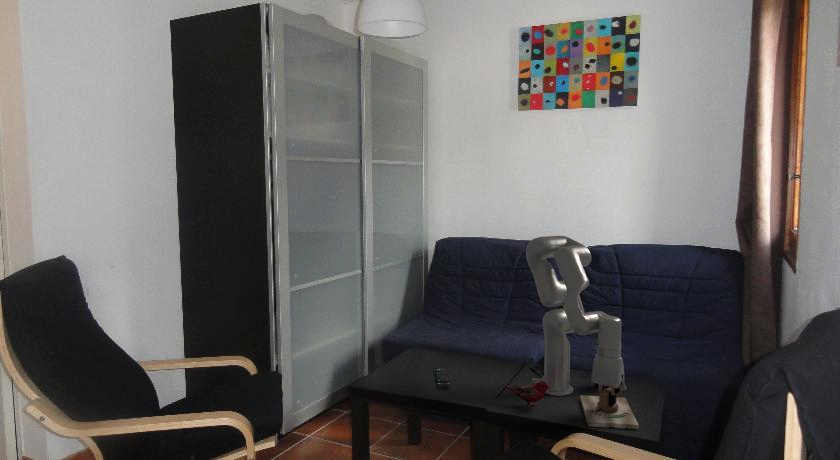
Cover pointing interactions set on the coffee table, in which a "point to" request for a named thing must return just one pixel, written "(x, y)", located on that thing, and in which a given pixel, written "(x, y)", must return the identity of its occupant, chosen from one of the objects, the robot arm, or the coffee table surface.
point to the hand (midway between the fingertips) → (607, 403)
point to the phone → (538, 370)
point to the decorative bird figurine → (531, 392)
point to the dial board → (608, 414)
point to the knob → (606, 402)
